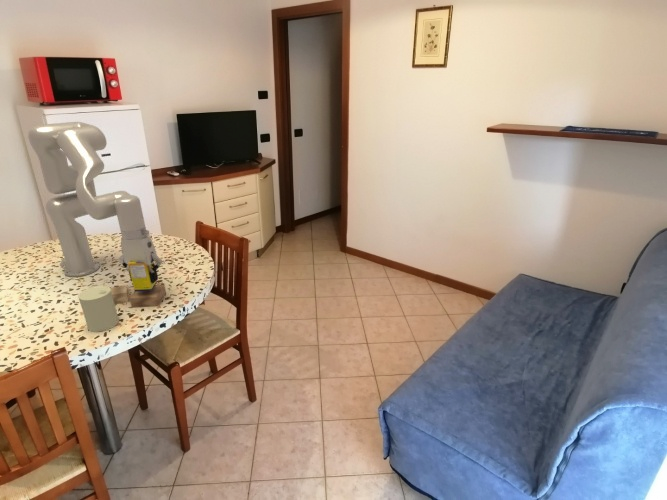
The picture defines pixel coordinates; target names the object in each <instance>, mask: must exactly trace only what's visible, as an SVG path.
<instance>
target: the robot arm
mask: <svg viewBox="0 0 667 500" xmlns="http://www.w3.org/2000/svg"><path fill="white" fill-rule="evenodd" d="M27 133H28V135H27V138H28V140H29V144H30V146H31V147H32V149H33V151H34V153H35V154H36V156H37V157H38V160H39V164H40V170H41V173H42V177H43V178H42V179H43V181H44V184H45V187H46V190H47V191H48V192H49V193H51V194H53V195H58V196H54V197H51V198H50V199H48V200H47V201H46V203H45V209H46V212H47V215H48V217H49V219H50V220H51V223H52V224H53V227H54V229H55V232H56V234H57V238H58V241H59V244H60V249H61V252H62V254H63V257H64V258H62V259H61V262H60V263H59V266H61V267H65V269H64V270H63V274H64V275H65V276H66V277H70V278H71V277H72V278H74V277H76V278H77V277H83V276H87V275H90V274H93V273H95V272H96V271H98V270H99V268H100V264H99V262H98V261H97V262H96V261H94V258H93V253H92V250H91V246H90V244H89V240H88V235H87V233H86V230H85V227H84V226H83V225H82V223H80V222H78V221H77V220H76V219H78V218H82V217H85V216H87V215H89V217H91V218H92V219H94V220H96V221H102V220H106V219H108V218H112V217H115V216H116V217H117V221H118V225H119V229H120V230H119V231H120V233H121V238H120V246H121V253H122V255H120V257H118V258H117V259H118V260H117V261H118V262H120V263H121V265H122V266H123V267H124V268H125V270H126V271H127V272H128V275H129V279H130V282H132V279H131V275H130V270H129V266H128V263H129V262H142V263H146V265H147V266H148V269H149V271H150V273H149V275H150V280H151V283H154V282H155V281H157V282H158V279H159V276H158V275H159V274H158V272H157V271H158V269H159V268H160V267H161V266H162V263H163V259H161V258H160V257H158V256H157V255H158V254H157V252H156V248H155V245H154V242H153V239H152V238H151V236H150V231H149V230H147V228H146V224H145V219H144V214H143V208H142V204H141V200H140V197H138V196H137V195H134V194H130V193H129V192H127V191H125V190H117V191H113V192H108V193H105V194H101V195H97V191H96V187H95V186H96V185H95V181H94V179H96V177H98V176H99V175H100V174H102V172H103V171H104V169H105V163H104V160H102V159H101V157H100V156H99V154H98V153H97V151H102V150H103V151H104V149H106V147H107V144H108V143H107V138H106V135H105V134H104V132H103V131H102V130H101V129H100V128H99V127H98V126H95V125H93V124H89V123H85V122H81V121H68V122H57V123H56V122H55V123H48V124H47V123H46V124H38V125H34V126H32V127H31V128H29V131H28V132H27ZM68 161H69V163H70V164H71V165H69V163H68ZM60 194H62V195H60ZM151 265H152V267H153V268H152V267H151Z"/></svg>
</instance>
